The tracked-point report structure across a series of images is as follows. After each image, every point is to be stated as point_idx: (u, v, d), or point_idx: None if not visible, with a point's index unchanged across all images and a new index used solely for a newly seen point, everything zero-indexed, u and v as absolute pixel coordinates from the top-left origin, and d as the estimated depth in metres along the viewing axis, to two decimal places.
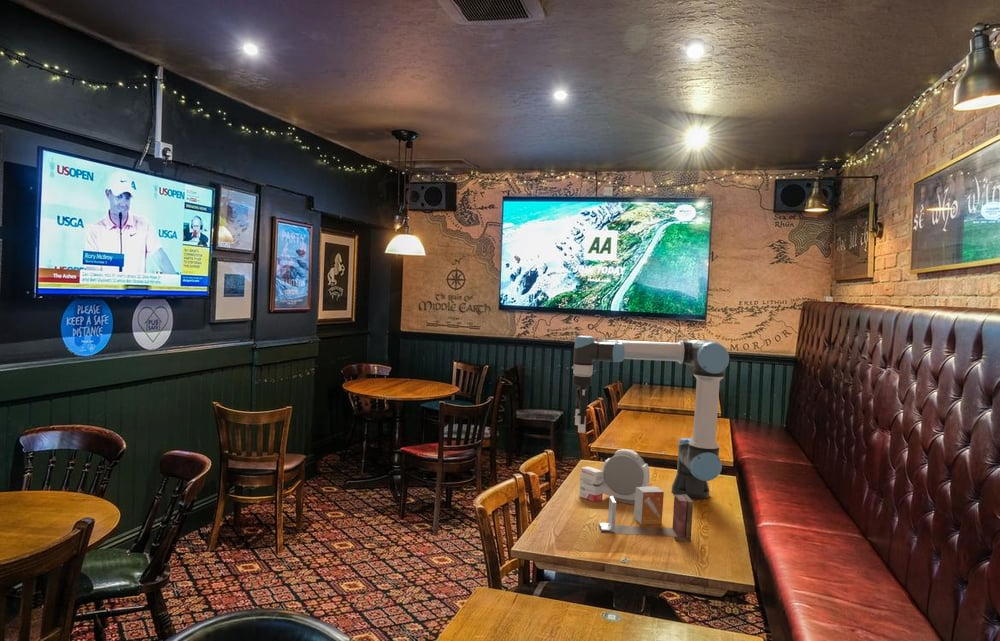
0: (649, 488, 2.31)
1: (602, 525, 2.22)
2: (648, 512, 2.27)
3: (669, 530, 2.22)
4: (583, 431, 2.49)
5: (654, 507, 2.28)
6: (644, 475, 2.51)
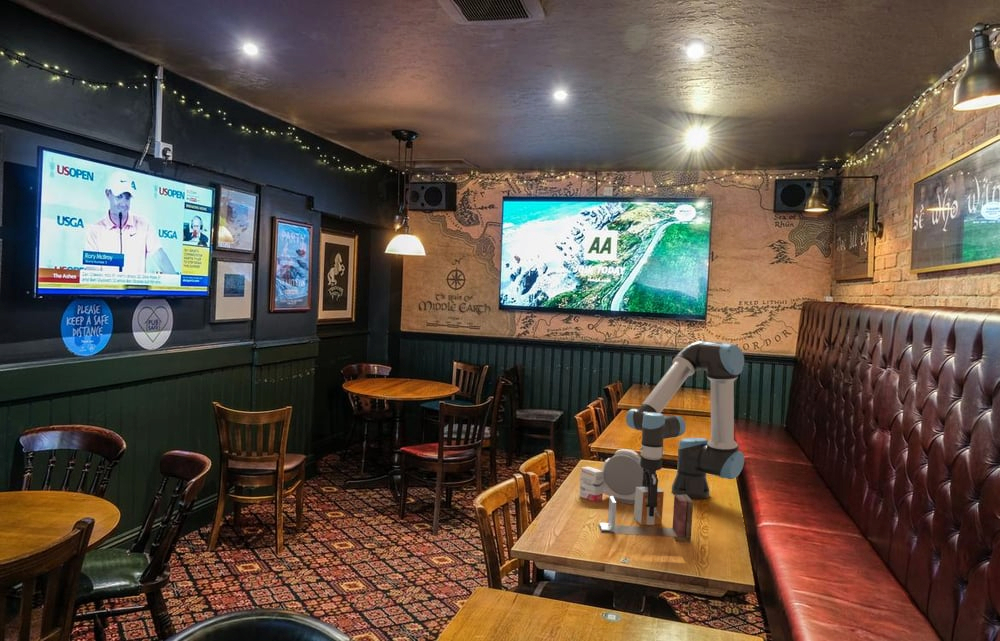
0: None
1: (602, 525, 2.22)
2: None
3: (669, 530, 2.22)
4: (652, 523, 2.27)
5: None
6: None
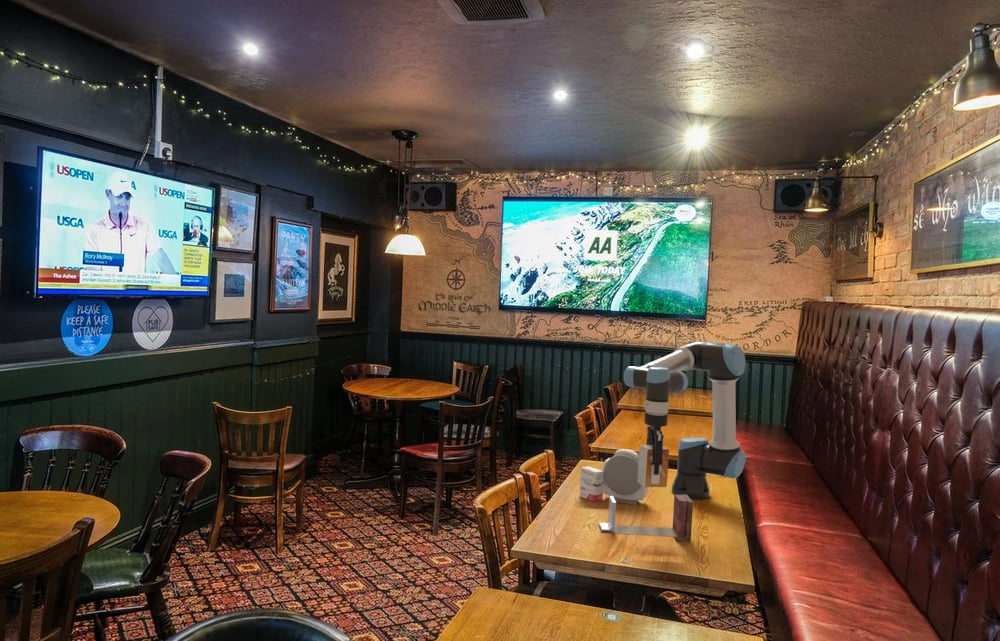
0: None
1: (602, 525, 2.22)
2: None
3: (669, 530, 2.22)
4: (657, 482, 2.16)
5: None
6: None
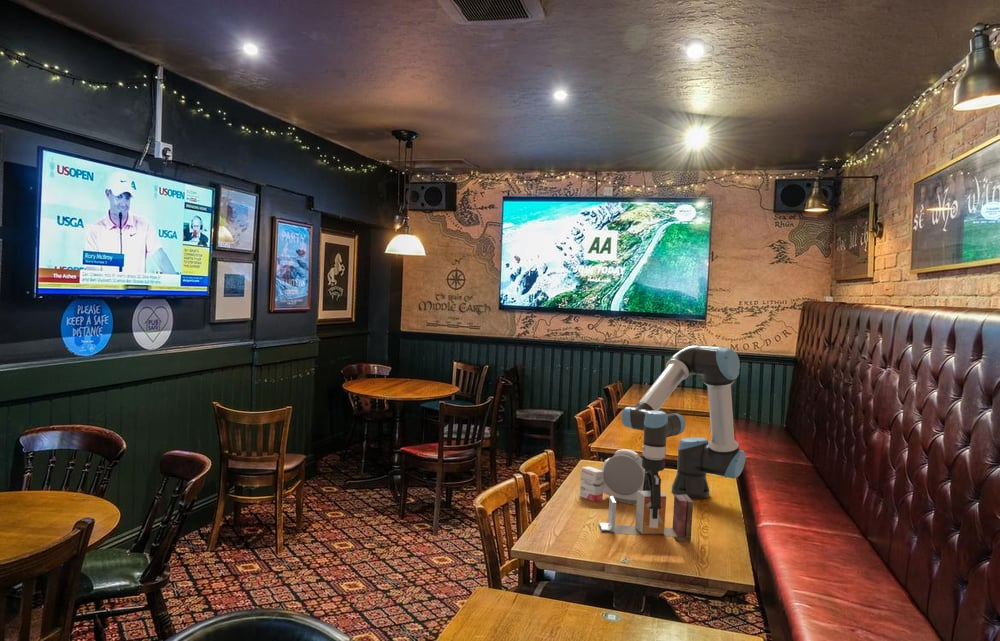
0: None
1: (602, 525, 2.22)
2: None
3: (669, 530, 2.22)
4: (655, 526, 2.15)
5: None
6: (643, 476, 2.50)
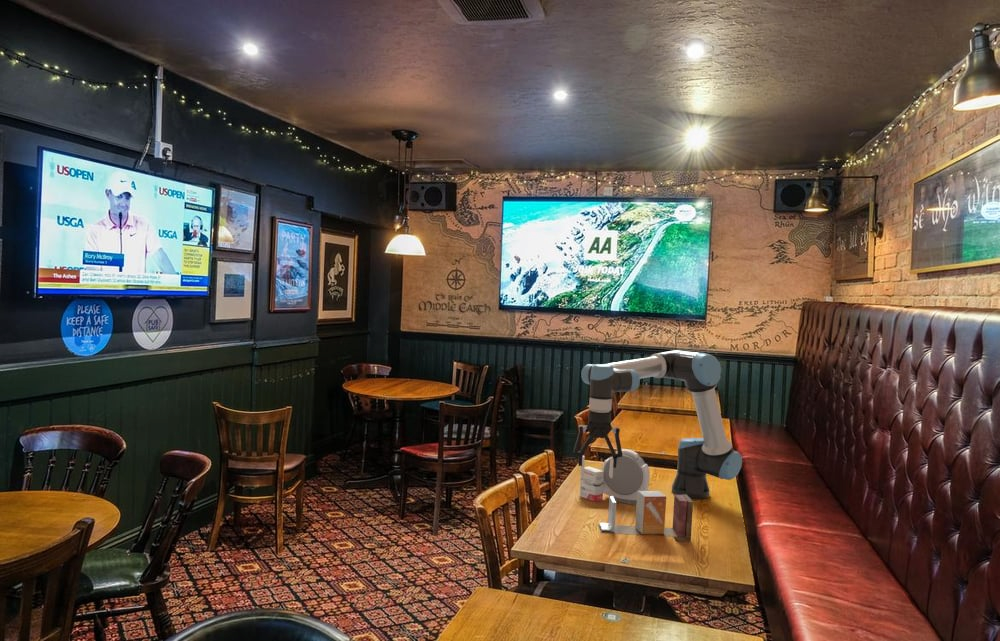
0: (651, 492, 2.21)
1: (602, 525, 2.22)
2: (650, 517, 2.17)
3: (669, 530, 2.22)
4: (581, 474, 2.20)
5: (656, 512, 2.18)
6: (643, 476, 2.50)
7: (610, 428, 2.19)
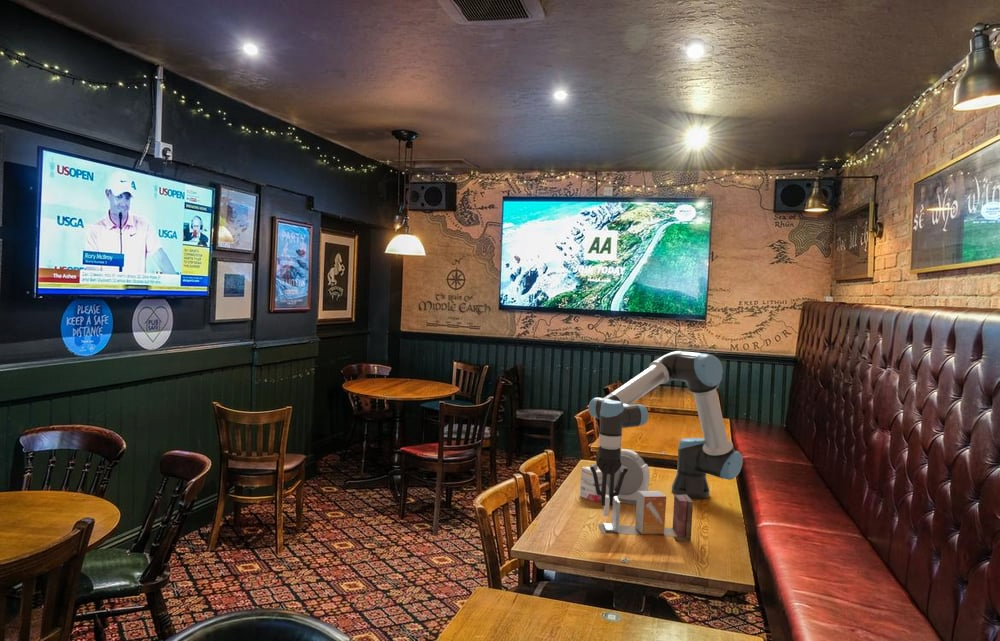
0: (651, 492, 2.21)
1: (606, 525, 2.22)
2: (650, 517, 2.17)
3: (669, 530, 2.22)
4: (604, 514, 2.20)
5: (656, 512, 2.18)
6: (643, 476, 2.50)
7: (620, 465, 2.19)
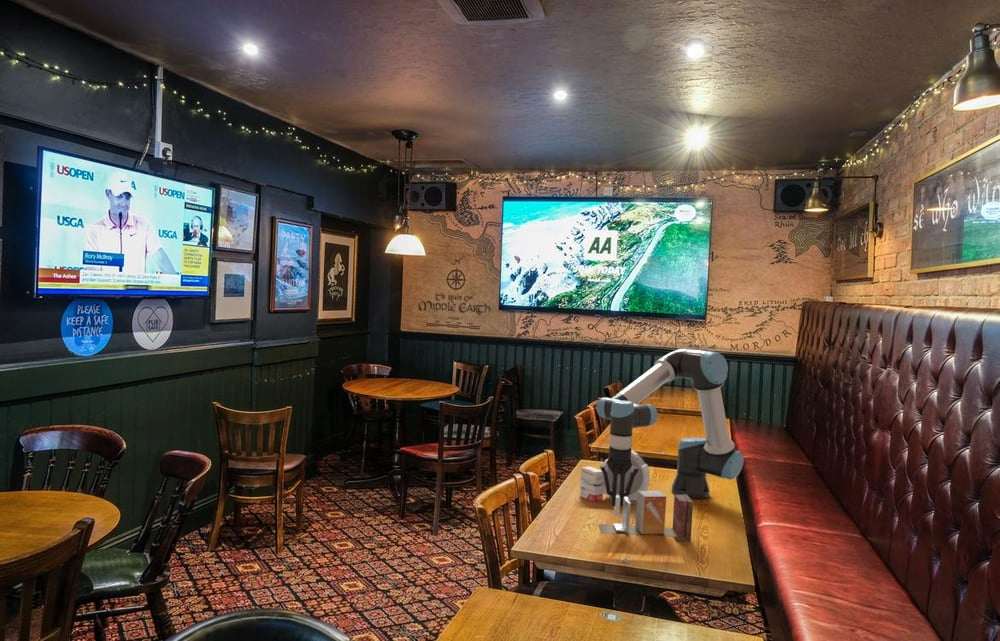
0: (651, 492, 2.21)
1: (616, 526, 2.22)
2: (650, 517, 2.17)
3: (669, 530, 2.22)
4: (614, 514, 2.20)
5: (656, 512, 2.18)
6: (643, 476, 2.50)
7: (630, 465, 2.19)
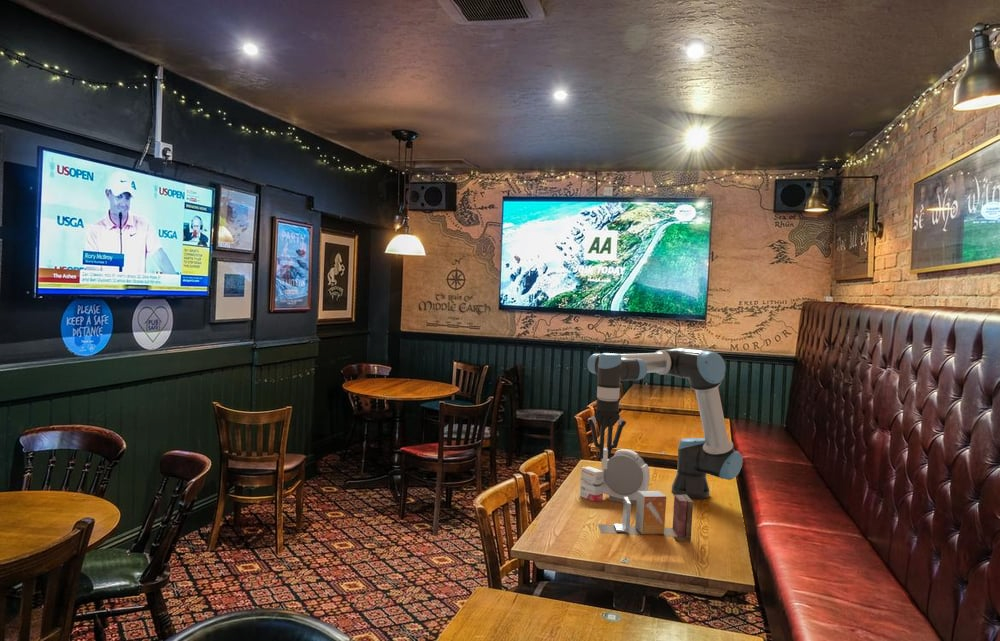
0: (651, 492, 2.21)
1: (616, 526, 2.22)
2: (650, 517, 2.17)
3: (669, 530, 2.22)
4: (602, 467, 2.20)
5: (656, 512, 2.18)
6: (643, 476, 2.50)
7: (618, 418, 2.18)
